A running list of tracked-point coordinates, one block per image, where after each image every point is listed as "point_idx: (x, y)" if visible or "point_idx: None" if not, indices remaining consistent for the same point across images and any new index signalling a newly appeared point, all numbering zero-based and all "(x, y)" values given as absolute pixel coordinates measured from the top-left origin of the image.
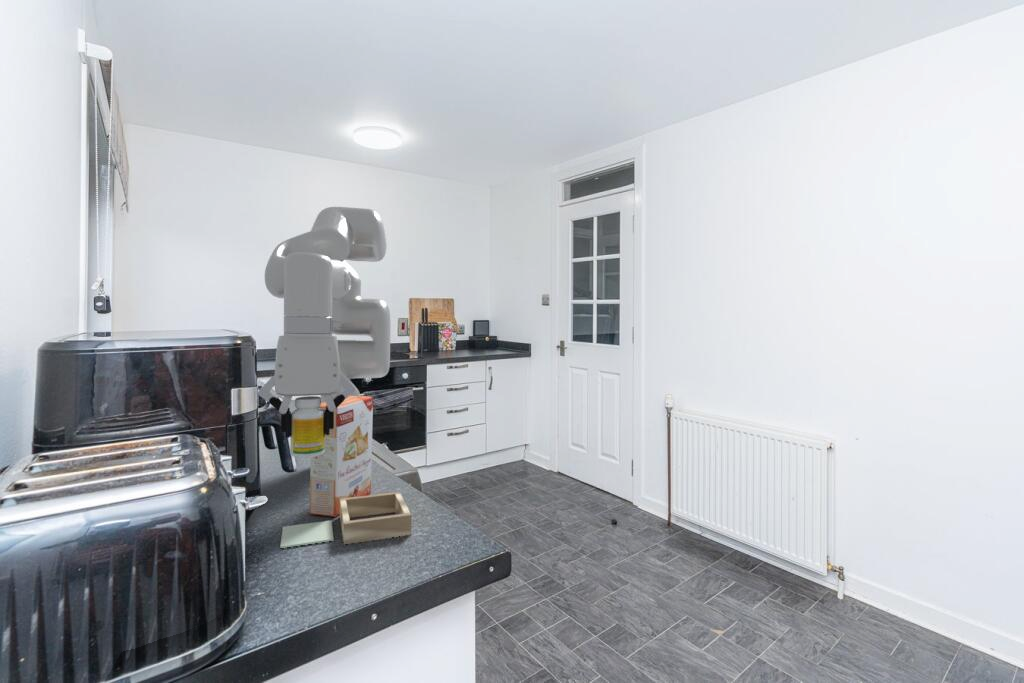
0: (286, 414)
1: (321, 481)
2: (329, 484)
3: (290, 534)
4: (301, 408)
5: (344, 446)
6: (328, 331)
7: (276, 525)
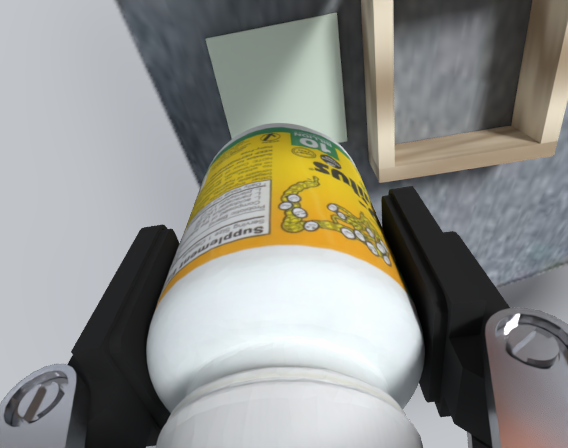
0: (149, 442)
1: None
2: None
3: (241, 98)
4: None
5: None
6: None
7: (178, 3)
